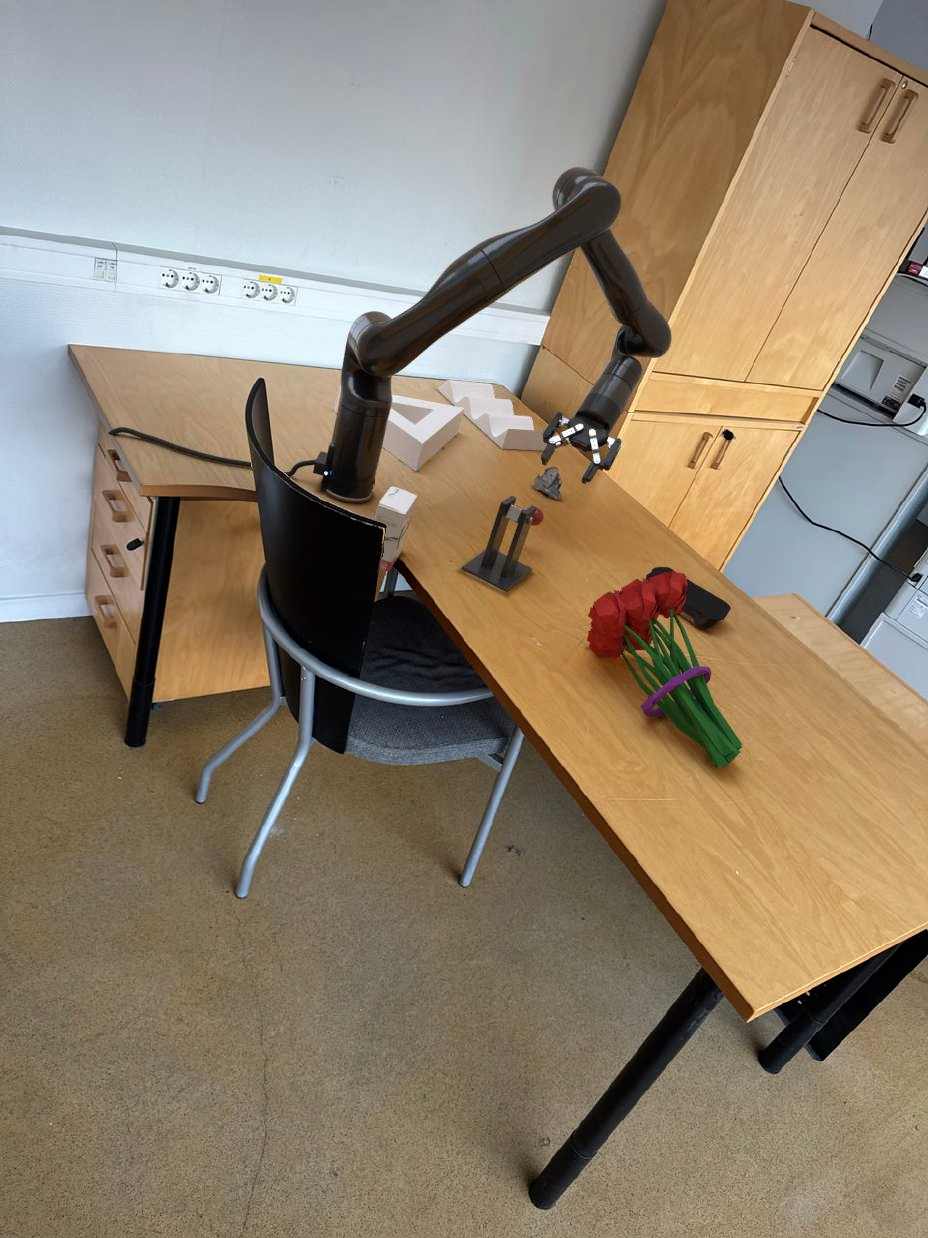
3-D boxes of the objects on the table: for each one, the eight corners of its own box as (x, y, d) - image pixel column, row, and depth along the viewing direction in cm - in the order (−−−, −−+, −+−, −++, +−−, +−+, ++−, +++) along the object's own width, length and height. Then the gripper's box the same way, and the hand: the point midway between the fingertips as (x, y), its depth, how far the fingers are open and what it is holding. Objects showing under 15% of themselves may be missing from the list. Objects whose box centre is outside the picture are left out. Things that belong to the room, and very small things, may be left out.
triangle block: (333, 411, 193) (338, 384, 189) (418, 406, 210) (424, 382, 207) (415, 471, 177) (422, 443, 174) (500, 461, 194) (508, 435, 191)
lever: (525, 521, 157) (532, 504, 156) (540, 529, 156) (548, 512, 156) (500, 518, 143) (509, 500, 142) (518, 527, 142) (526, 508, 141)
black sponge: (727, 623, 157) (735, 607, 156) (706, 635, 152) (714, 618, 150) (656, 579, 165) (663, 563, 163) (634, 588, 159) (641, 572, 157)
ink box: (389, 576, 139) (405, 513, 133) (360, 566, 139) (375, 503, 133) (402, 553, 146) (418, 493, 140) (375, 544, 147) (390, 483, 140)
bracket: (487, 552, 156) (509, 485, 148) (530, 573, 153) (554, 506, 146) (460, 572, 147) (482, 502, 139) (505, 595, 144) (529, 525, 137)
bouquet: (667, 810, 119) (551, 650, 133) (736, 780, 129) (622, 634, 143) (750, 729, 106) (613, 562, 120) (819, 702, 116) (685, 551, 130)
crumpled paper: (541, 483, 190) (550, 455, 186) (561, 500, 185) (571, 472, 181) (526, 483, 188) (535, 454, 184) (546, 501, 183) (556, 472, 179)
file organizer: (478, 393, 232) (483, 375, 229) (545, 450, 208) (552, 431, 206) (437, 389, 225) (442, 370, 222) (501, 448, 202) (508, 428, 199)
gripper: (571, 379, 160) (529, 447, 157) (639, 408, 156) (597, 478, 153) (571, 401, 167) (531, 466, 164) (636, 429, 164) (596, 496, 160)
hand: (563, 472), depth 159 cm, fingers open, 8 cm apart
